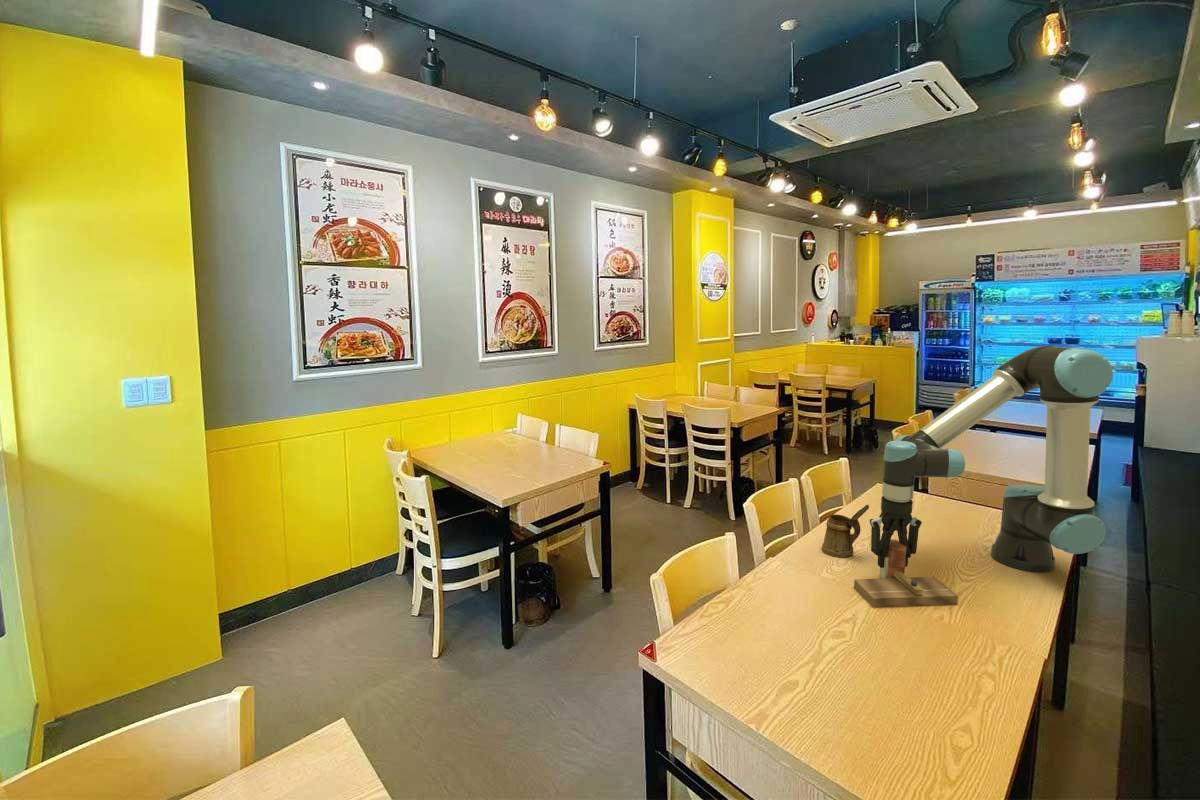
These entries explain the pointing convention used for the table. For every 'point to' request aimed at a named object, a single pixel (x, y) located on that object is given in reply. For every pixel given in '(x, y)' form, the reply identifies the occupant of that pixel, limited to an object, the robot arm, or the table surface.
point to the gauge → (900, 566)
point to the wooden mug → (842, 534)
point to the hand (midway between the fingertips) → (891, 577)
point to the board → (904, 592)
